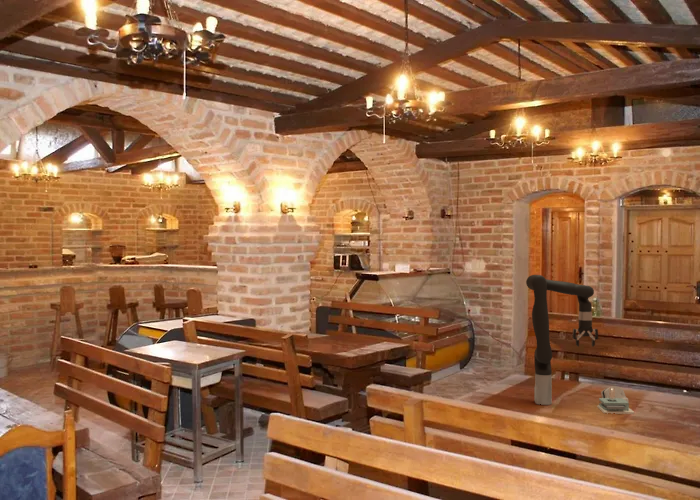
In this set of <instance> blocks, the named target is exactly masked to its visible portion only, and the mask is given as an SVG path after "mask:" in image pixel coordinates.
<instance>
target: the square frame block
mask: <svg viewBox="0 0 700 500" xmlns="http://www.w3.org/2000/svg"><path fill="white" fill-rule="evenodd" d="M598 401H599V403H598V405H596V407H597V409H598V410H600V411H601V412H602V413H603V414H605V413H607V415H609V414H608V413H611V414H612V415H613V413H615V414H616V415H617V414H619V415H620V414H621V415H623V414H624V415H635V411H634V410H633V409H632V408H631V407H630V406H629V404H630V403H629V402H627V401H626V400H624V399H623V398H615V402H611V401H609V398H602V397H599V398H598ZM611 414H610V415H611Z"/></svg>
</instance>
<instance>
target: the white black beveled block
mask: <svg viewBox="0 0 700 500" xmlns="http://www.w3.org/2000/svg"><path fill="white" fill-rule="evenodd" d="M609 388H615V398H623V399H624V400H626V401H627V402H628V403H629V402H630V401H629V398H628V397H627V396H626V393H625V391H624V388H623V387H620V386H609V387H606V388H604V389H603V390H601V392H600V395H601V398H609Z"/></svg>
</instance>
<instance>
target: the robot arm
mask: <svg viewBox="0 0 700 500" xmlns="http://www.w3.org/2000/svg"><path fill="white" fill-rule="evenodd" d="M525 283H526V286H527V288H528V289H530V290H531V291H533V296H534V298H533V299H534V302H533V305H532V311H531V321H532V327H533V331H534V332H533V333H534V337H535V339H536V348H535V349H534V358H533V360H534V377H535V378H534V381H535V382H534V383H535V384H534V389H533V390H534V391H533V392H534V397H533V398H534V403H535V405H540V404H541V405H540V406H550V405H552V404H553V402H552V401H553V400H552V399H553V396H552V395H553V394H552V393H553V392H552V391H553V389H552V388H553V387H552V386H553V383H552V380H553V379H552V377H553V375H552V364H551V362H552V359H553V352H552V347H551V341H550V320H549V319H550V318H549V310H548V300H547V298H548V296H547V293H548V292H547V291H550V292H555V293H560V294H565V295H570V296H576V297H577V301H578V327H577V328H573V329H572V339H573V340H575V345H576V347H580V341H579V340H580V338H582V337H590V339H591V347H592V348H593V347H594V346H595V345H596V340H598V339H599V330H598V329H597V328H593V313H592V309H593V307H592V306H593V305H592V302H591V301H589V298H591V297H592V296H594V293H595V291H594V288H593V287H592V286H590V285H583V284H576V283H573V282H568V281H564V280H563V281H561V280H551V279H548V278H545V276H543V275H542V274H541V275H540V274H531V275H529V276H528V277H527V279H526V281H525ZM577 333H578V334H577ZM592 333H594V335H593V334H592ZM576 334H577V335H576Z"/></svg>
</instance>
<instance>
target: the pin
mask: <svg viewBox="0 0 700 500" xmlns="http://www.w3.org/2000/svg"><path fill="white" fill-rule="evenodd" d="M608 388H609V387H608ZM609 401H611V402H615V388H609Z"/></svg>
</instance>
